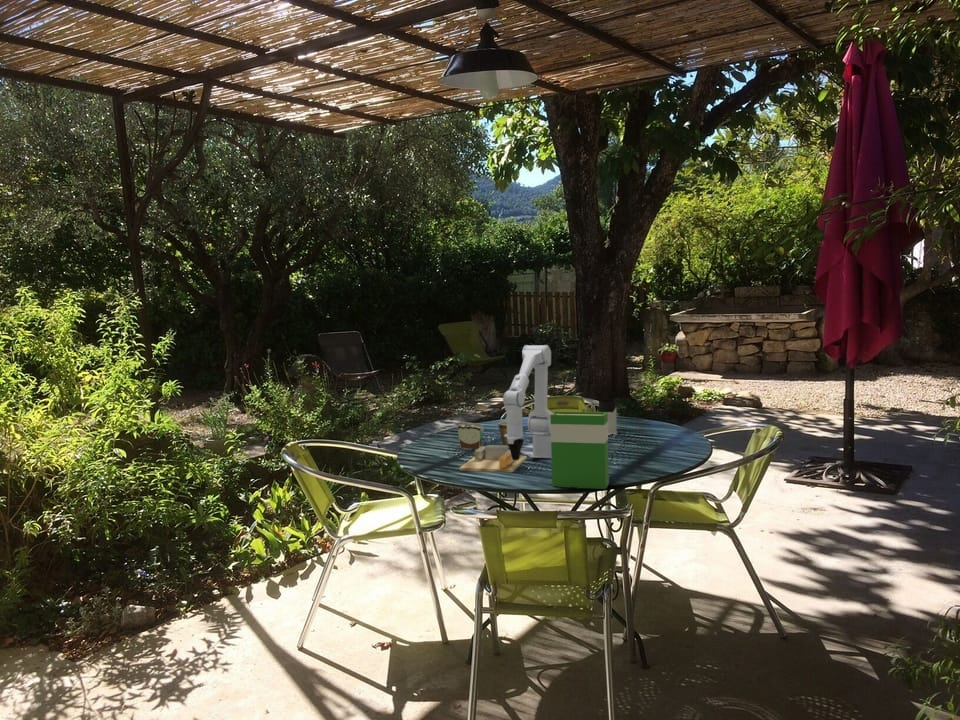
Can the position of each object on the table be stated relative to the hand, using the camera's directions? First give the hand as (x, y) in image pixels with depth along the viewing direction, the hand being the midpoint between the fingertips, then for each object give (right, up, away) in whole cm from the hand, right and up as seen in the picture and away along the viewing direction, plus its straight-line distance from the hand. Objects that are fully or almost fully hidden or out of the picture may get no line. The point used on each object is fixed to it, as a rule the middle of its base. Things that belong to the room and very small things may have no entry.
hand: (515, 459), depth 277 cm
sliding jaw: (-2, -2, +7) cm, 7 cm away
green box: (+20, -5, -26) cm, 33 cm away
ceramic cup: (0, 0, +42) cm, 42 cm away
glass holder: (+41, +3, +61) cm, 74 cm away
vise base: (-8, -3, +9) cm, 12 cm away
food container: (-16, -1, +41) cm, 44 cm away
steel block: (-7, -2, +13) cm, 15 cm away
